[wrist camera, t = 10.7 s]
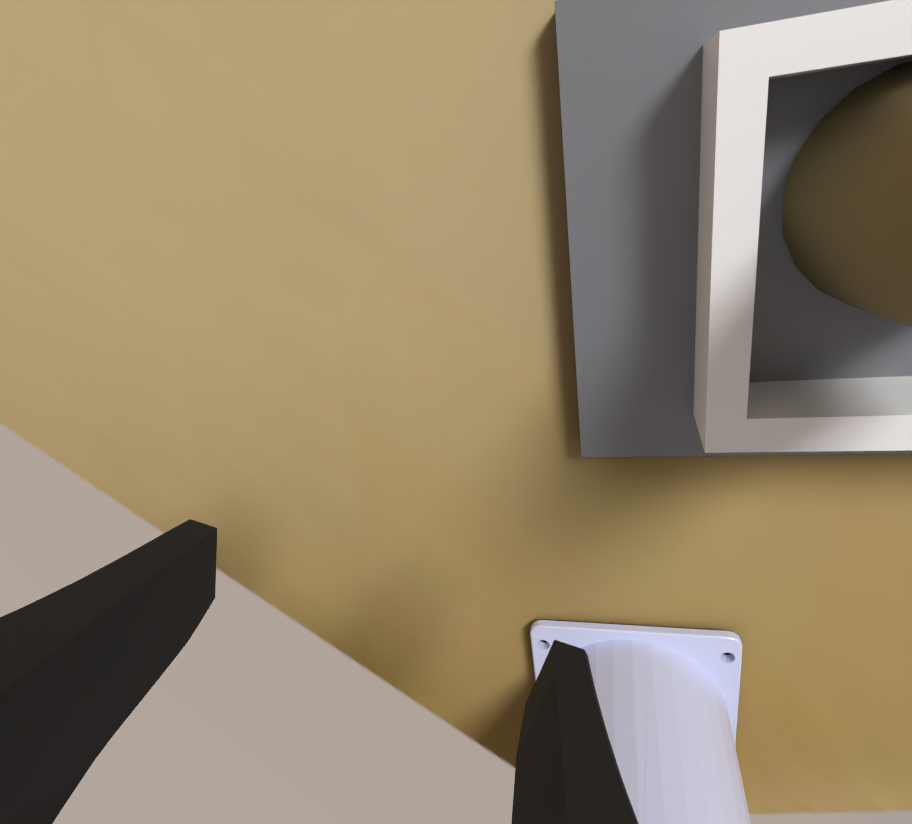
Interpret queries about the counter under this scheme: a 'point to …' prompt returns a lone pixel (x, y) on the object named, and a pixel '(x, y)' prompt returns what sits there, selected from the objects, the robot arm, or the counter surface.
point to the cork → (857, 199)
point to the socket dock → (717, 229)
